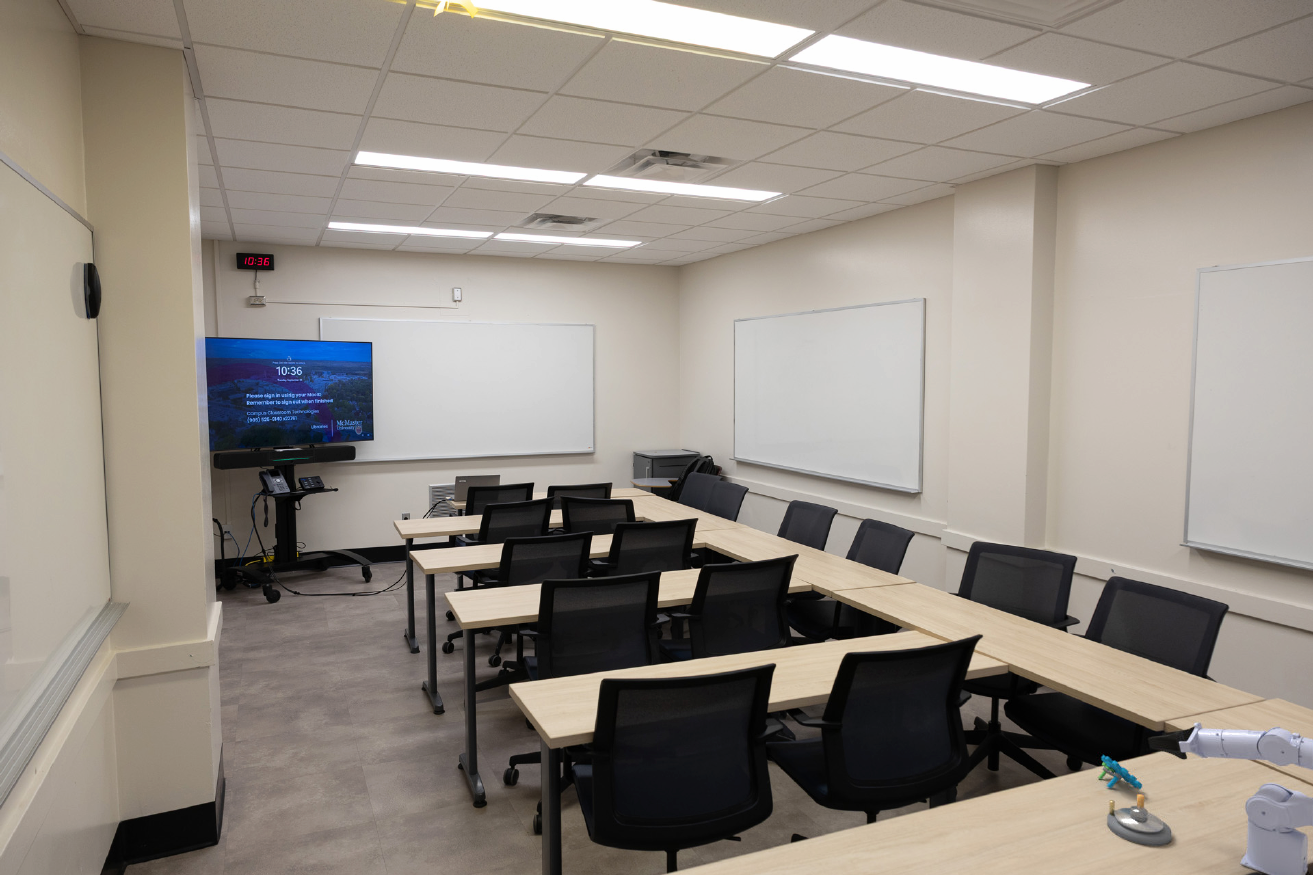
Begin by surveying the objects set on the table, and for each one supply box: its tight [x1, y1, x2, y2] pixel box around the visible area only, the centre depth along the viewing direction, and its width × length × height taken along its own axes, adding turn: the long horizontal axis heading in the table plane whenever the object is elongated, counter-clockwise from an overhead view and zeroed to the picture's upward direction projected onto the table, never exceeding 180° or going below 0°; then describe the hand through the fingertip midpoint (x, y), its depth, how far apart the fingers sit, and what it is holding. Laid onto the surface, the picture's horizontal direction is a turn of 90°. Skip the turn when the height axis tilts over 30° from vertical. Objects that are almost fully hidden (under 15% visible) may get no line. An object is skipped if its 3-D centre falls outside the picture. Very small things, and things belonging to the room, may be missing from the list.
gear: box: [1097, 754, 1143, 790], centre depth 191 cm, size 11×6×10 cm
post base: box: [1106, 799, 1172, 847], centre depth 171 cm, size 12×12×4 cm
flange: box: [1115, 793, 1164, 833], centre depth 172 cm, size 11×9×4 cm
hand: (1156, 740), depth 173 cm, fingers open, 7 cm apart
